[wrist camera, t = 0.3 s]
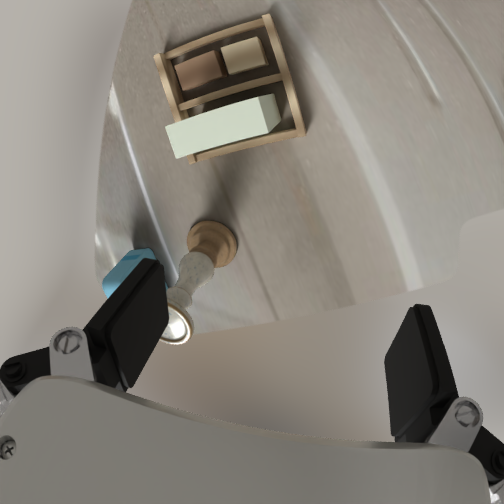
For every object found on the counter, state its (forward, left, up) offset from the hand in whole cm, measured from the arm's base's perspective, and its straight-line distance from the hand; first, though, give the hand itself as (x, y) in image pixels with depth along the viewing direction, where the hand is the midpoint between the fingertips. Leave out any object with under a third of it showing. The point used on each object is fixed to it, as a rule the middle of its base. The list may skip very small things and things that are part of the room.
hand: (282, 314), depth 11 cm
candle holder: (+14, -20, -36) cm, 43 cm away
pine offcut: (-14, -5, -36) cm, 39 cm away
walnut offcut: (-14, -12, -36) cm, 40 cm away
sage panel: (-5, -9, -36) cm, 37 cm away
